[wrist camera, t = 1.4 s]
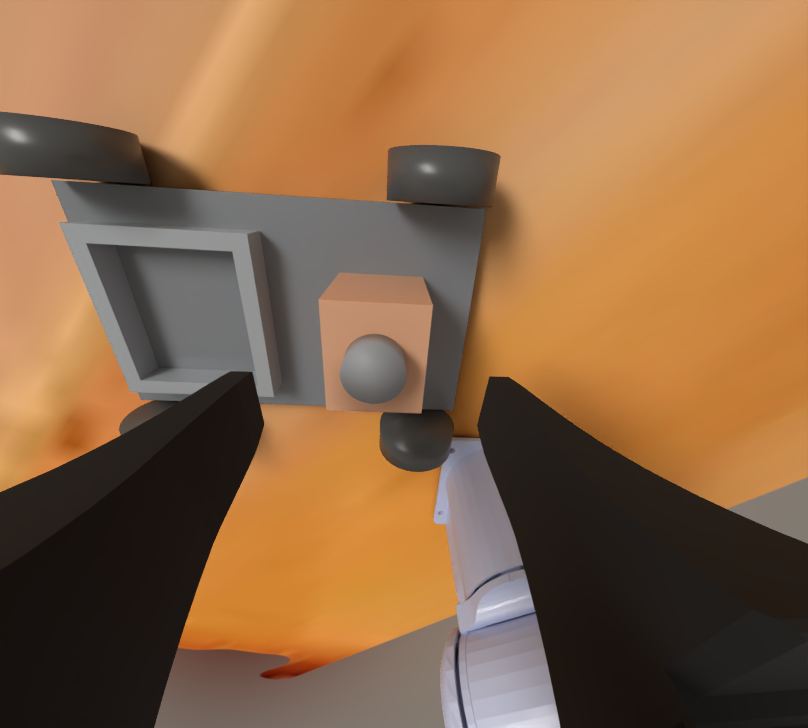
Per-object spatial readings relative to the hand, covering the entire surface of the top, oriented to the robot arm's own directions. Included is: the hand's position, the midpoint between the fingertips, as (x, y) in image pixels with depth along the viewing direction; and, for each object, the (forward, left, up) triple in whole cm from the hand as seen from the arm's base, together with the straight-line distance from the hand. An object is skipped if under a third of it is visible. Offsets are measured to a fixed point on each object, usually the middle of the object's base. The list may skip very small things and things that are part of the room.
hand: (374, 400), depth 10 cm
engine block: (0, 0, -9) cm, 9 cm away
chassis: (0, +5, -10) cm, 11 cm away
